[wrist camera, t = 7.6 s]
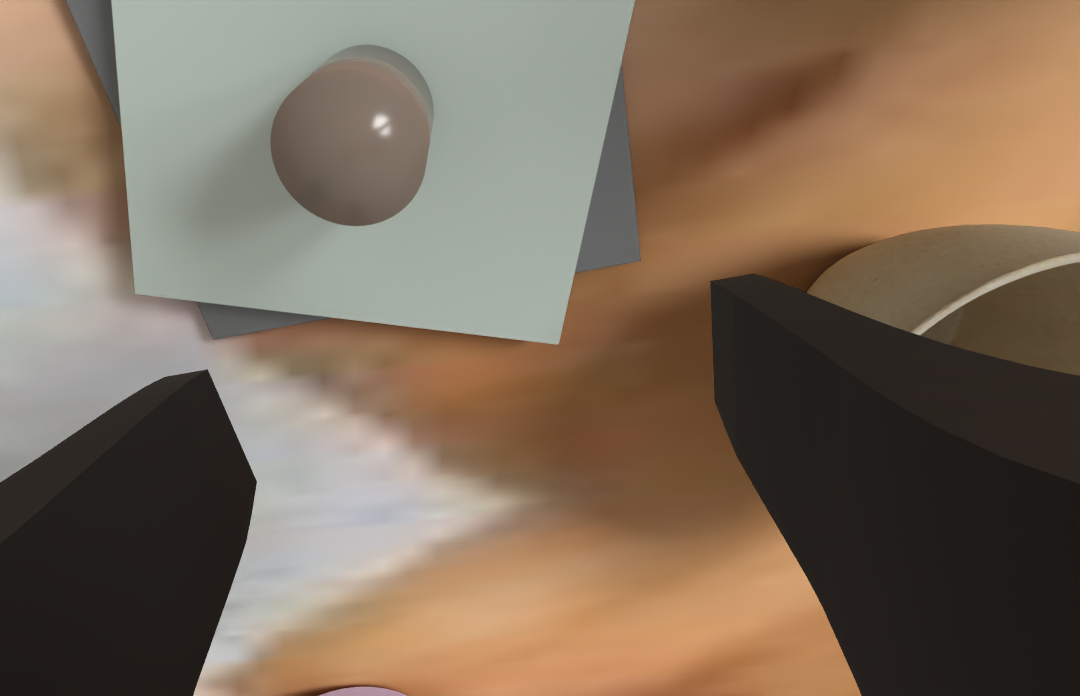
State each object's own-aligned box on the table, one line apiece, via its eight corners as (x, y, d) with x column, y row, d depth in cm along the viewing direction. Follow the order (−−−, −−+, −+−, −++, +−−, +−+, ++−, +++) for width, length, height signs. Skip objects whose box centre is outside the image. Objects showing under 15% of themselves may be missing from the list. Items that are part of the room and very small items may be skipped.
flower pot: (826, 498, 26) (941, 675, 20) (647, 323, 22) (721, 476, 16) (1089, 313, 23) (1320, 451, 17) (940, 74, 19) (1173, 139, 13)
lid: (652, -111, 16) (718, -129, 12) (555, 331, 21) (578, 427, 17) (110, -236, 14) (-37, -309, 10) (147, 281, 19) (59, 375, 15)
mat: (589, -232, 15) (592, -236, 15) (638, 255, 21) (640, 260, 20) (19, -127, 15) (9, -130, 15) (217, 333, 21) (213, 339, 20)
